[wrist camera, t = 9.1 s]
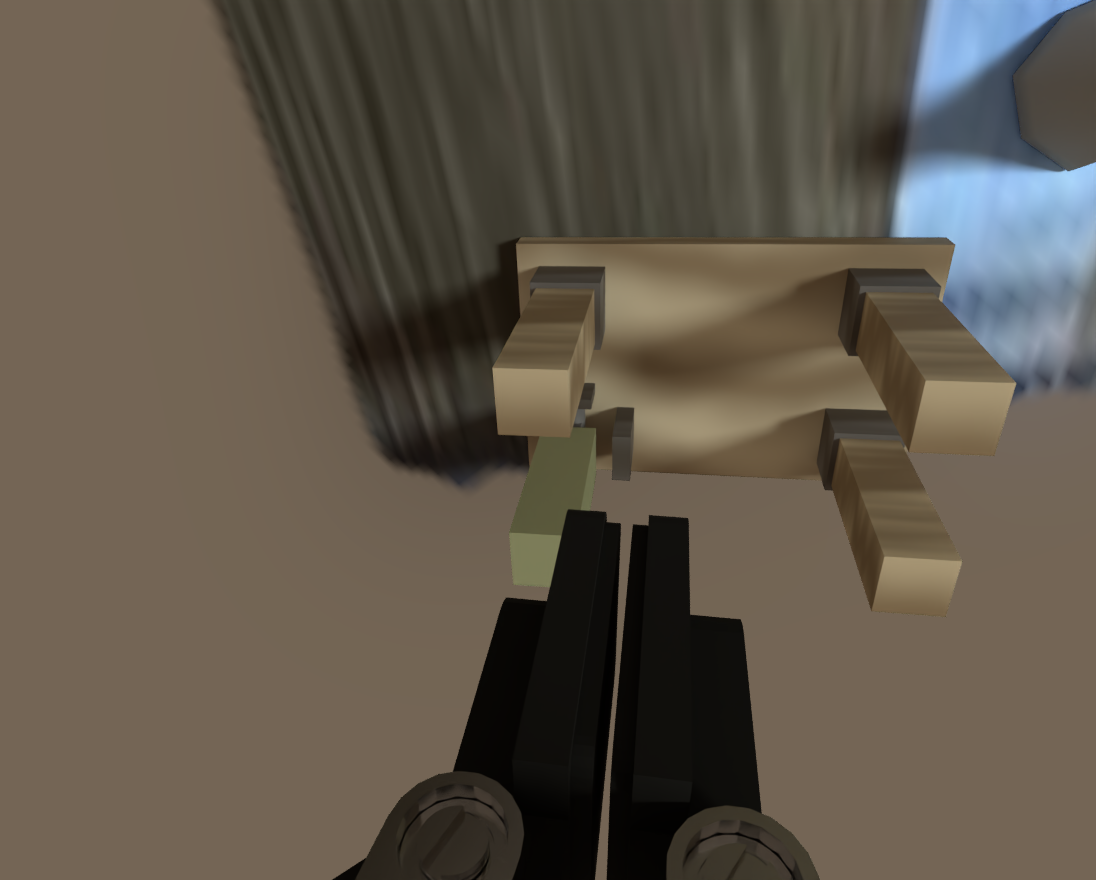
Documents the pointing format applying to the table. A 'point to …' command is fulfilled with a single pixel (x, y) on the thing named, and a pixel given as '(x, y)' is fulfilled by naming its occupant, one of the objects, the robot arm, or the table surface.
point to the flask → (1061, 91)
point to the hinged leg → (551, 501)
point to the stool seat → (764, 376)
